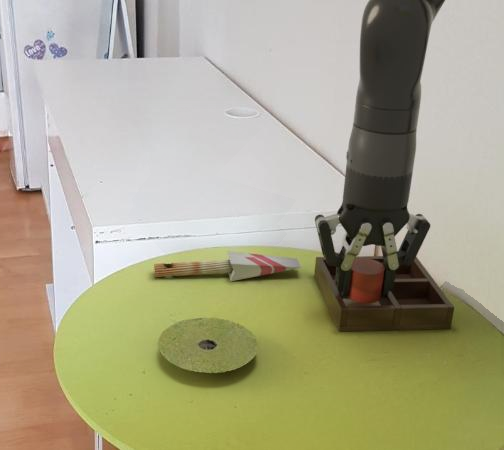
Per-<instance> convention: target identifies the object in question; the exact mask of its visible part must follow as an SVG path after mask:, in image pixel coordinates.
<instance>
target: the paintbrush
mask: <svg viewBox="0 0 504 450" xmlns="http://www.w3.org/2000/svg"><path fill="white" fill-rule="evenodd" d="M227 255H228V259H218V260H217V259H216V260H203V261H202V260H200V261H185V262H171V263H165V262H164V263H160V262H159V263H153V270H154V271H153V273H154V278H162V277H163V278H164V277H169V276H171V277H176V276H177V277H179V276H193V275H211V274H228V277H229V280H230V282H234V281H239V280H246V279H250V278H255V277H260V276H265V275H271V274H275V273H276V274H277V273H282V272H285V271H291V270H296V269H300V268H302V266H301V263H300V262H299V259H298V258H297V257H289V256H288V257H287V256H286V257H285V256H278V255H269V254H259V253H248V252H238V251H230V250H227Z"/></svg>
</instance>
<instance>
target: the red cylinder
mask: <svg viewBox="0 0 504 450" xmlns="http://www.w3.org/2000/svg"><path fill="white" fill-rule="evenodd" d="M350 269H351V271H352V272H351V281H350V289H349V296H347V297H348V298H349V299H351V300H353V301H355V302H359V303H374V302H377V301H379V300H380V298H381V292H382V285H383V278H384V270H385V267H384V266H383V264H381V263H380V262H378V261H376V260H372V259H367V258H357V259H354V261H353V264H352V266H351V268H350Z"/></svg>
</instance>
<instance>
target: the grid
mask: <svg viewBox="0 0 504 450" xmlns="http://www.w3.org/2000/svg"><path fill="white" fill-rule="evenodd" d="M357 258H367V259H372V260H376V261H378V262H380V263H381V262H384V259H383V255H366V256H359V255H358V256H356V257H355V259H357ZM314 263H315V265H314V274H313V279H314V280H315V282H316V285H317V287H318V289H319V291H320V293H321V296H322V297H323V300H324V302H325V304H326V306H327V308H328V311H329V313H330V315H331V317H332V319H333V322H334V324H335V326H336V327H337V330H338V332H370V331H371V332H377V331H378V332H379V331H414V330H415V331H417V330H450V329H451V328H452V322H453V317H454V314H455V313H454V312H455V306H454V304H453V303H452V302H451V300H450V299H449V298H448V296H447V295H446V294H445V293H444V291H443V290H442V288H441V287H440V285H439V284H438V283H437V282H436V281H435V279H434V278H433V276H432V275H431V274H430V273H429V271H428V270H427V268H426V267H425V266H424V265H423V264H422V262H421V261H420V259H419V258H418V256H416V258H415V260H414V262H413V263H412V264H411V265H406V264H404V265H401V266H399V267H398V268H397V269H396V274H395V280H394V288H393V289H392V291H389V293H388V296H381V298H380V300H379V301H377V302H374V303H359V302H355V301H353V300H351V299H349V298H348V297H347V296H342V295H341V293H340V292H338V290H337V288H336V285H335V276H336V266H329V265H328V264H327V262H326V260H325V258H324V256H316V257H315V262H314Z"/></svg>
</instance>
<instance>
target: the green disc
mask: <svg viewBox="0 0 504 450" xmlns="http://www.w3.org/2000/svg"><path fill="white" fill-rule="evenodd" d="M157 347H158V350H159V352H160V353H161V355H162V356H163V357H164V358H165V359H166V361H168V362H169V363H170V364H172V365H175V366H176V367H178V368H181V369H183V370H186V371H189V372H196V373H197V372H198V373H207V374H212V373H214V374H218V373H220V374H221V373H226V372H230V371H235V370H237V369H240V368H242V367H244V366H245V365H247V364H248V363H249V362H251V361H252V360H253V359H254V358H255V356H256V355H257V353H258V350H259V348H258V347H259V346H258V340H257V338H256V336H255V335H254V333H253V332H251V331H250V329H248V328H247V327H245V326H244V325H241V324H240V323H238V322H234V321H233V320H229V319H224V318H218V317H196V318H195V317H194V318H189V319H185V320H184V319H183V320H180V321H177V322H174V323H173V324H171V325H169V326H168V327H166V328H165V329H164V330H163V331H162V332H161V334H160V335H159V337H158V341H157Z"/></svg>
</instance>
